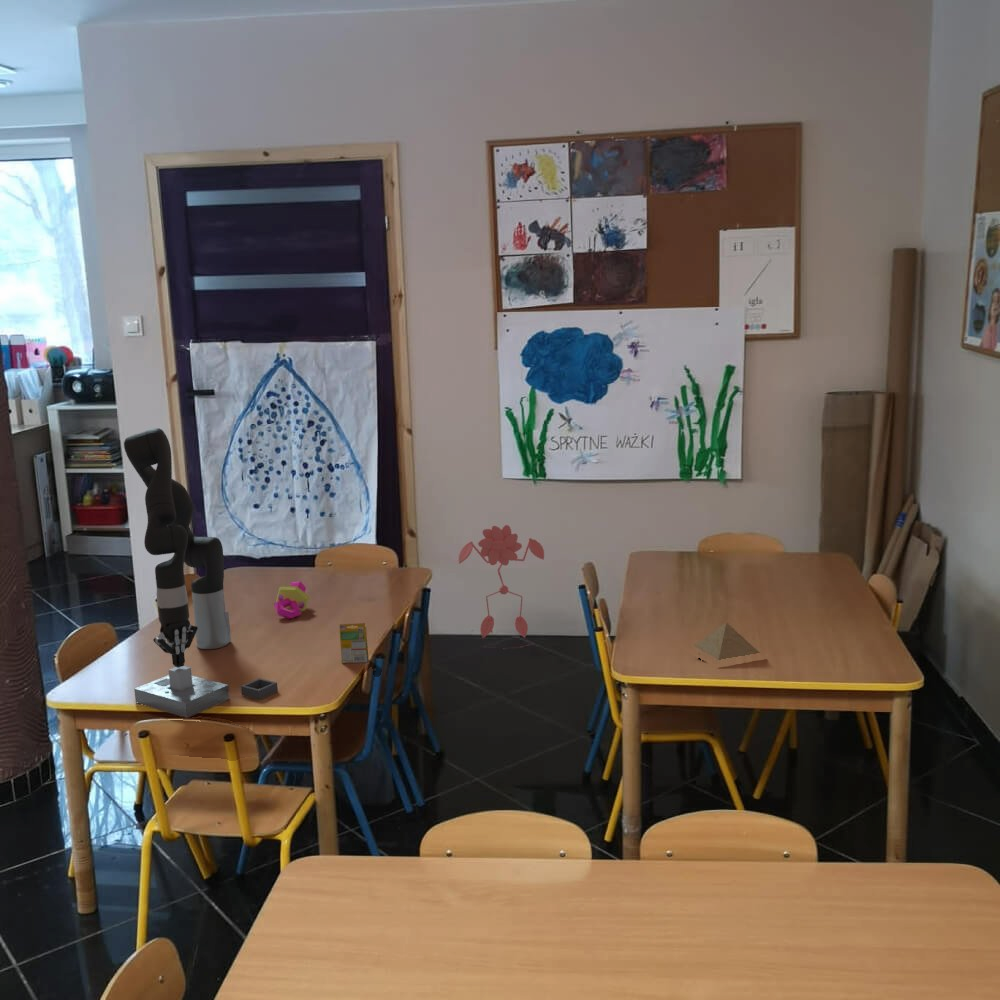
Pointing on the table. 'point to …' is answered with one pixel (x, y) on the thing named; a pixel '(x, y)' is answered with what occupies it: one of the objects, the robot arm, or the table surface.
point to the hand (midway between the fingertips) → (179, 666)
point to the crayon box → (353, 643)
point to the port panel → (182, 696)
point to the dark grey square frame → (255, 692)
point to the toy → (291, 600)
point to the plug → (180, 678)
